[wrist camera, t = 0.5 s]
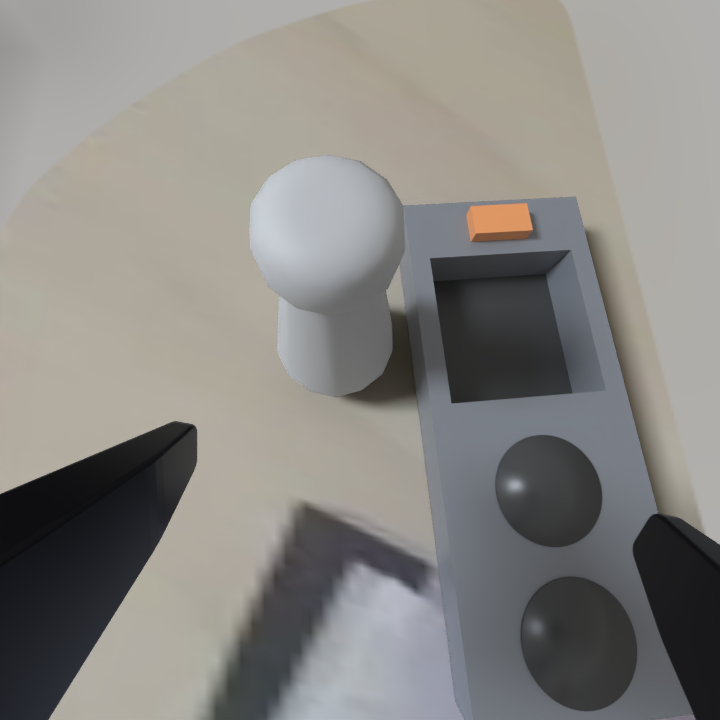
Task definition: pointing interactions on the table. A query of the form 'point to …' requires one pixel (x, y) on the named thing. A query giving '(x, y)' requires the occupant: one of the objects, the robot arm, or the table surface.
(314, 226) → the salt shaker
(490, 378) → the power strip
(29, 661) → the robot arm
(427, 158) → the table surface
